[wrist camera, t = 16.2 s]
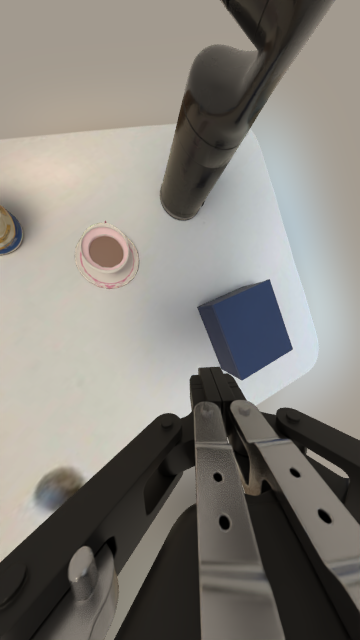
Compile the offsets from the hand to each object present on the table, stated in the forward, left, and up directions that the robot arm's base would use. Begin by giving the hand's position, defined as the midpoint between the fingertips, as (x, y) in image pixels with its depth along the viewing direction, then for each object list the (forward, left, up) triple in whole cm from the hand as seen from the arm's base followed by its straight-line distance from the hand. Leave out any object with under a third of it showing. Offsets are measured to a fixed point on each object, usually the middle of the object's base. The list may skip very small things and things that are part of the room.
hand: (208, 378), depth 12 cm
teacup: (-17, -9, -27) cm, 33 cm away
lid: (-1, +20, -19) cm, 28 cm away
